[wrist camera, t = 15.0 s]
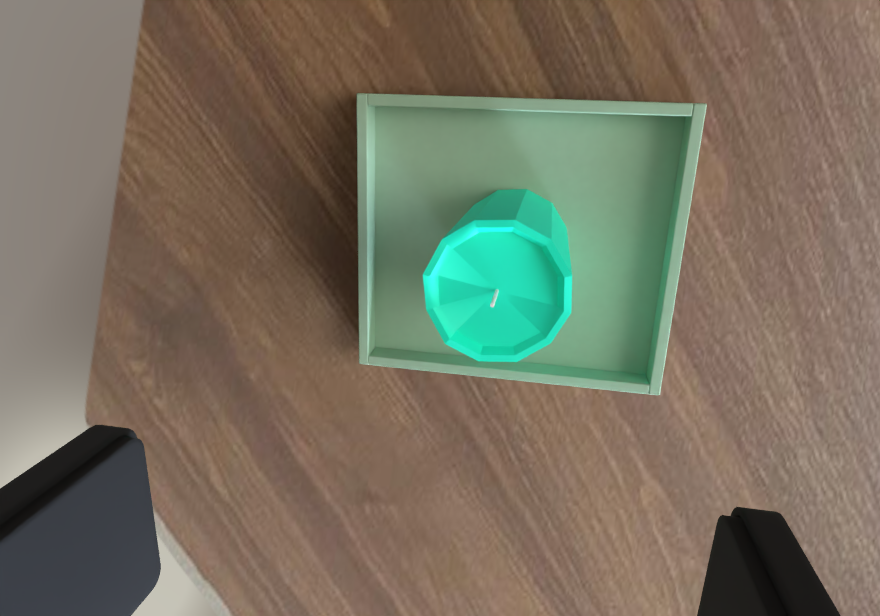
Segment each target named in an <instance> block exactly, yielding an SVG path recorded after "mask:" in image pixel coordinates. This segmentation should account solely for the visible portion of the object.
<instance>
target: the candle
mask: <svg viewBox="0 0 880 616" xmlns="http://www.w3.org/2000/svg"><path fill="white" fill-rule="evenodd" d="M423 283H424V293H425V304H426V311H427V312H428V314H429V316H430V318H431V320H432V321H433V323H434V325H435V327H436V329H437V331H438V332H439V334H440V336H441V338H442V340H443V341H444V343H445V344H446V345H448V346H450V347H452V348H454V349H456V350H458V351H459V352H461V353H463V354H465V355H467V356H469V357H471V358H473V359H475V360H477V361H483V362H518V361H520V360H521V359H523V358H525V357H527V356H529V355H531V354H532V353H534V352H536V351H538V350H540V349H542V348H543V347H545V346H547V345H549V344H551V342H552V341H553V339H554V338H555V336H556V335H557V333H558V332H559V330H560V329H561V328H562V326H563V325H564V323H565V322H566V320H567V319H568V317H569V316H570V314H571V307H572V269H571V261H570V252H569V244H568V235H567V227H566V226H565V224H564V222H563V220H562V219H561V217H560V215H559V214H558V212H557V210H556V208H555V207H554V205H553V203H552V202H550V201H548V200H546V199H544V198H542V197H541V196H539V195H537V194H535V193H533V192H531V191H530V190H528V189H511V190H497V191H496V192H494V193H492V194H491V195H489V196H487V197H486V198H484V199H483V200H481V201H479V202H478V203H476V204H475V205H473V207H472V208H471V209H470V210H469V211H468V212H467V213H466V214H465V215H464V216H463V217H462V218H461V219H460V220H459V221H458V223H457V224H456V225H455V226H454V227H453V228H452V229H451V230H450V231H449V232H448V233H447V234H446V235H445V236H444V237H443V239H442V240H441V242H440V244H439V245H438V247H437V249H436V251H435V253H434V255H433V256H432V258H431V260H430V262H429V264H428V266H427V268H426V269H425V271H424V273H423Z"/></svg>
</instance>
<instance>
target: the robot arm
mask: <svg viewBox="0 0 880 616" xmlns="http://www.w3.org/2000/svg"><path fill="white" fill-rule="evenodd" d="M160 569H161V564H160V557H159V550H158V543H157V536H156V529H155V522H154V514H153V507H152V500H151V493H150V486H149V479H148V472H147V465H146V458H145V451H144V446H143V443H142V441H141V440H140V439H138V438H137V436H136V434H135V433H134V431H133V430H131V429H129V428H121V427H113V426H105V425H95V426H93V427H91V428H89V429H87V430H86V431H85V432H83V433H82V434H80V435H79V436H77V437H76V438H74V439H73V440H71V441H70V442H68V443H67V444H66V445H64V446H62V447H61V448H59V449H58V450H57V451H55V452H54V453H52V454H51V455H49V456H48V457H46V458H45V459H43V460H42V461H40V462H39V463H37V464H36V465H34V466H33V467H31V468H30V469H29V470H27V471H26V472H24V473H23V474H21V475H20V476H18V477H17V478H15V479H14V480H12V481H11V482H9V483H8V484H6V485H5V486H3V487H2V488H1V489H0V616H131V615H132V614H133V612H134V611H135V610H136V609H137V607H138V606H139V605H140V604H141V603H142V602H143V601H144V599H145V598H146V597H147V596H148V595H149V593H150V592H151V591H152V590H153V588H154V587H155V585H156V583H157V581H158V578H159V575H160ZM697 616H840V614H839V612H838V611H837V609H836V607H835V605H834V604H833V602H832V600H831V599H830V597H829V595H828V593H827V592H826V590H825V588H824V586H823V585H822V583H821V581H820V580H819V578H818V576H817V574H816V573H815V571H814V569H813V567H812V566H811V564H810V562H809V561H808V559H807V557H806V555H805V554H804V552H803V550H802V549H801V547H800V545H799V543H798V542H797V540H796V538H795V536H794V535H793V533H792V531H791V530H790V528H789V526H788V524H787V523H786V521H785V519H784V518H783V516H782V515H781V514H780V513H778V512H773V511H765V510H757V509H749V508H742V507H736V508H734V510H733V511H732V513H731V516H724V515H722V516H720V517H719V519H718V522H717V526H716V531H715V535H714V540H713V545H712V549H711V554H710V559H709V563H708V568H707V573H706V577H705V582H704V587H703V592H702V596H701V601H700V606H699V610H698V615H697Z"/></svg>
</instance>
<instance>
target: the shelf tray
mask: <svg viewBox="0 0 880 616" xmlns="http://www.w3.org/2000/svg"><path fill="white" fill-rule="evenodd" d="M706 107H707V104H705V103H672V102H638V101H605V100H571V99H538V98H504V97H470V96H437V95H403V94H370V93H369V94H367V93H357V193H358V301H359V364H367V365H368V364H369V365H376V366H386V367H395V368H405V369H414V370H424V371H433V372H442V373H452V374H461V375H471V376H480V377H490V378H499V379H509V380H518V381H528V382H537V383H547V384H556V385H565V386H575V387H584V388H594V389H603V390H613V391H622V392H632V393H641V394H648V393H649V394H651V395H660V390H661V383H662V377H663V371H664V365H665V359H666V353H667V347H668V340H669V334H670V328H671V322H672V316H673V310H674V303H675V297H676V291H677V285H678V279H679V273H680V267H681V260H682V254H683V248H684V242H685V236H686V230H687V224H688V217H689V211H690V205H691V199H692V193H693V187H694V181H695V174H696V168H697V162H698V156H699V150H700V144H701V137H702V131H703V125H704V119H705V113H706ZM511 189H528V190H530V191H531V192H533V193H535V194H537V195H539V196H541V197H542V198H544V199H546V200H548V201H550V202H552V203H553V205H554V207H555V208H556V210H557V212H558V214H559V215H560V217H561V219H562V220H563V222H564V224H565V226H566V227H567V235H568V244H569V252H570V261H571V269H572V307H571V314H570V316H569V317H568V319H567V320H566V322H565V323H564V325H563V326H562V328H561V329H560V330H559V332H558V333H557V335H556V336H555V338H554V339H553V341H552V342H551V344H549V345H547V346H545V347H543V348H542V349H540V350H538V351H536V352H534V353H532V354H531V355H529V356H527V357H525V358H523V359H521V360H520V361H518V362H483V361H477V360H475V359H473V358H471V357H469V356H467V355H465V354H463V353H461V352H459V351H458V350H456V349H454V348H452V347H450V346H448V345H446V344H445V343H444V341H443V340H442V338H441V336H440V334H439V332H438V331H437V329H436V327H435V325H434V323H433V321H432V320H431V318H430V316H429V314H428V312H427V311H426V304H425V293H424V283H423V273H424V271H425V269H426V268H427V266H428V264H429V262H430V260H431V258H432V256H433V255H434V253H435V251H436V249H437V247H438V245H439V244H440V242H441V240H442V239H443V237H444V236H445V235H446V234H447V233H448V232H449V231H450V230H451V229H452V228H453V227H454V226H455V225H456V224H457V223H458V221H459V220H460V219H461V218H462V217H463V216H464V215H465V214H466V213H467V212H468V211H469V210H470V209H471V208H472V207H473V205H475V204H476V203H478V202H479V201H481V200H483V199H484V198H486V197H487V196H489V195H491V194H492V193H494V192H496V191H497V190H511Z"/></svg>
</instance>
